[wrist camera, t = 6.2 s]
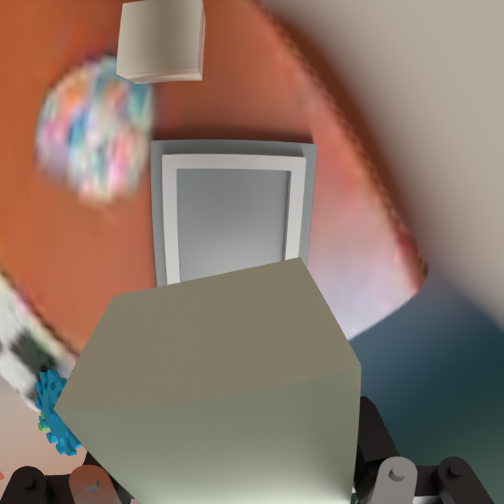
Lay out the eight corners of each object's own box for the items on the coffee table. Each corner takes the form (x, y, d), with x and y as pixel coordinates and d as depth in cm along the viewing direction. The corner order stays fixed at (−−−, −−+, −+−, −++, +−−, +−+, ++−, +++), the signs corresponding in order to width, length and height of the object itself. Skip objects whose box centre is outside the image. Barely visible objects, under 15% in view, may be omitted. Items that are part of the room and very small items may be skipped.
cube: (136, 84, 20) (116, 73, 16) (140, 25, 19) (122, 3, 14) (202, 80, 21) (197, 67, 16) (205, 21, 19) (202, -4, 15)
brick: (321, 443, 13) (346, 528, 9) (201, 463, 13) (200, 549, 9) (300, 256, 10) (361, 365, 5) (113, 295, 10) (53, 409, 5)
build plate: (163, 326, 28) (161, 338, 26) (153, 140, 22) (148, 141, 20) (296, 325, 29) (300, 336, 27) (313, 143, 23) (320, 144, 22)
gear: (51, 356, 26) (83, 451, 22) (96, 355, 31) (128, 439, 27) (22, 386, 30) (47, 461, 26) (59, 384, 35) (84, 454, 31)
